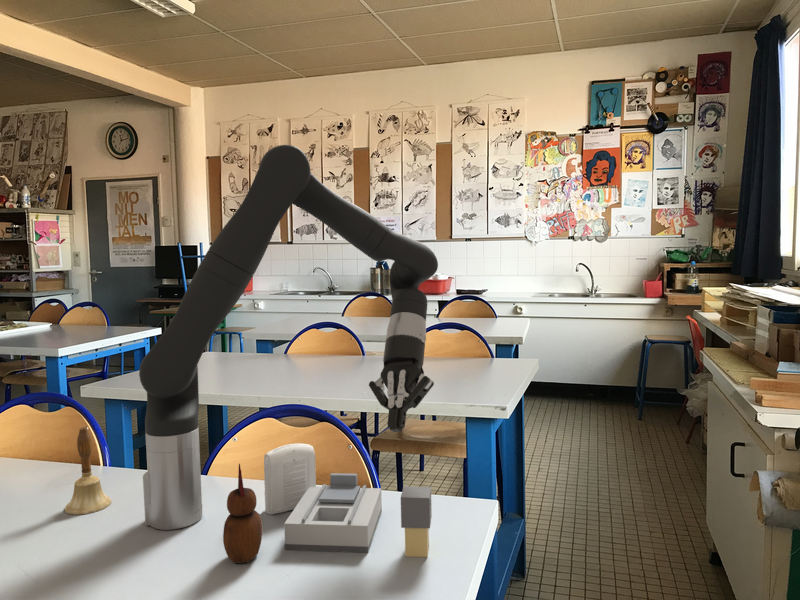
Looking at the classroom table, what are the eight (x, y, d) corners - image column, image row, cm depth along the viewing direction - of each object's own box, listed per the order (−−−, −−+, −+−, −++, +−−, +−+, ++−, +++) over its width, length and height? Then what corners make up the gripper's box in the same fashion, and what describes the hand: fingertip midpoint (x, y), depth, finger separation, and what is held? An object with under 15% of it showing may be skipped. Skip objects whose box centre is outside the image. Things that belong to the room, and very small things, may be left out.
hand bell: (114, 507, 119) (110, 428, 118) (67, 518, 114) (61, 436, 113) (107, 494, 126) (103, 419, 125) (62, 504, 121) (57, 426, 120)
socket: (285, 549, 100) (284, 520, 100) (310, 509, 116) (309, 483, 116) (368, 552, 99) (367, 522, 98) (381, 511, 114) (381, 485, 114)
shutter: (318, 502, 108) (318, 487, 107) (328, 486, 115) (327, 473, 115) (354, 502, 107) (353, 488, 107) (361, 487, 114) (360, 473, 114)
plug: (401, 557, 97) (400, 497, 96) (404, 544, 101) (403, 486, 101) (430, 558, 96) (429, 498, 95) (432, 545, 101) (431, 486, 100)
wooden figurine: (232, 547, 101) (229, 460, 100) (266, 547, 101) (263, 460, 100) (219, 568, 95) (215, 475, 94) (255, 568, 94) (252, 474, 93)
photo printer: (310, 497, 122) (308, 437, 121) (319, 504, 118) (318, 442, 118) (262, 509, 116) (259, 447, 116) (270, 517, 113) (267, 453, 112)
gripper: (365, 337, 114) (352, 426, 106) (428, 328, 108) (419, 422, 100) (385, 353, 120) (374, 438, 112) (445, 345, 114) (438, 435, 106)
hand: (395, 430), depth 106 cm, fingers closed
